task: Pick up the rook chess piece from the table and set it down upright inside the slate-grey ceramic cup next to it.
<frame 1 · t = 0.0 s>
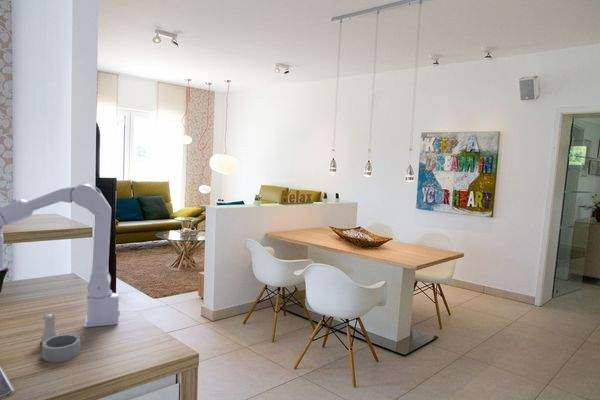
cup: (61, 353, 111), on the counter
rook chess piece: (50, 341, 118), on the counter
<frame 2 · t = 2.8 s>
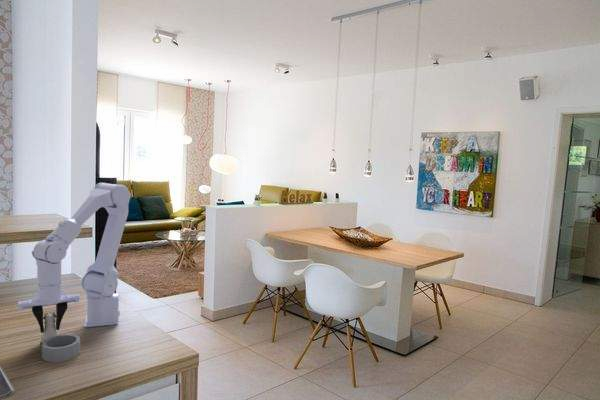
hand: (49, 330, 117), 3 cm above the counter, tool pointing down, fingers closed on rook chess piece, 3 cm apart
rook chess piece: (50, 341, 118), on the counter, touching gripper
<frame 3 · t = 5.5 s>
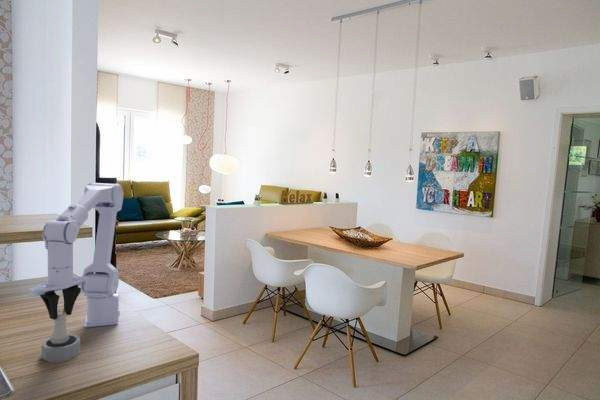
hand: (60, 316, 110), 10 cm above the counter, tool pointing down, fingers closed on rook chess piece, 3 cm apart
rook chess piece: (59, 341, 111), point 3 cm above the counter, touching gripper
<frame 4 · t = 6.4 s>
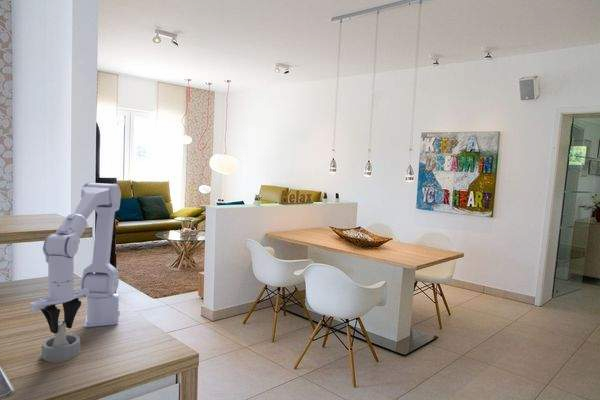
hand: (61, 329, 110), 7 cm above the counter, tool pointing down, fingers closed on rook chess piece, 3 cm apart
rook chess piece: (60, 352, 111), resting on cup, touching gripper
when the fingers open (5 cm above the counter, at t = 7.5 s): rook chess piece stays where it is, resting on cup.
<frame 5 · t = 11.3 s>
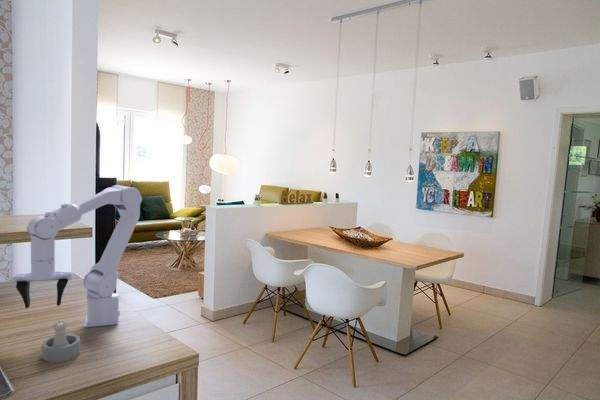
hand: (43, 305, 119), 9 cm above the counter, tool pointing down, fingers open, 7 cm apart
rook chess piece: (60, 352, 111), resting on cup
at the end: rook chess piece 0.5 cm off-centre on the cup, point 0.3 cm above the cup's base; rook chess piece tilted 0°; the gripper is holding nothing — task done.
